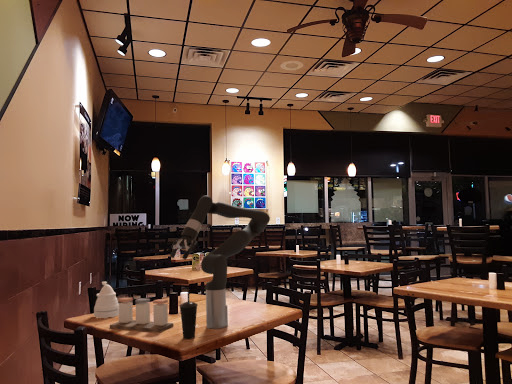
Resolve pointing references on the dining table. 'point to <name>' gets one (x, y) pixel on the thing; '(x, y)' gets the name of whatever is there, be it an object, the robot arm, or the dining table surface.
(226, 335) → the dining table surface
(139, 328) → the wooden serving board
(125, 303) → the white spice jar
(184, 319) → the drinking cup
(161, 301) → the white lidded canister
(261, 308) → the dining table surface
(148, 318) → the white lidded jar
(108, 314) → the honey pot
